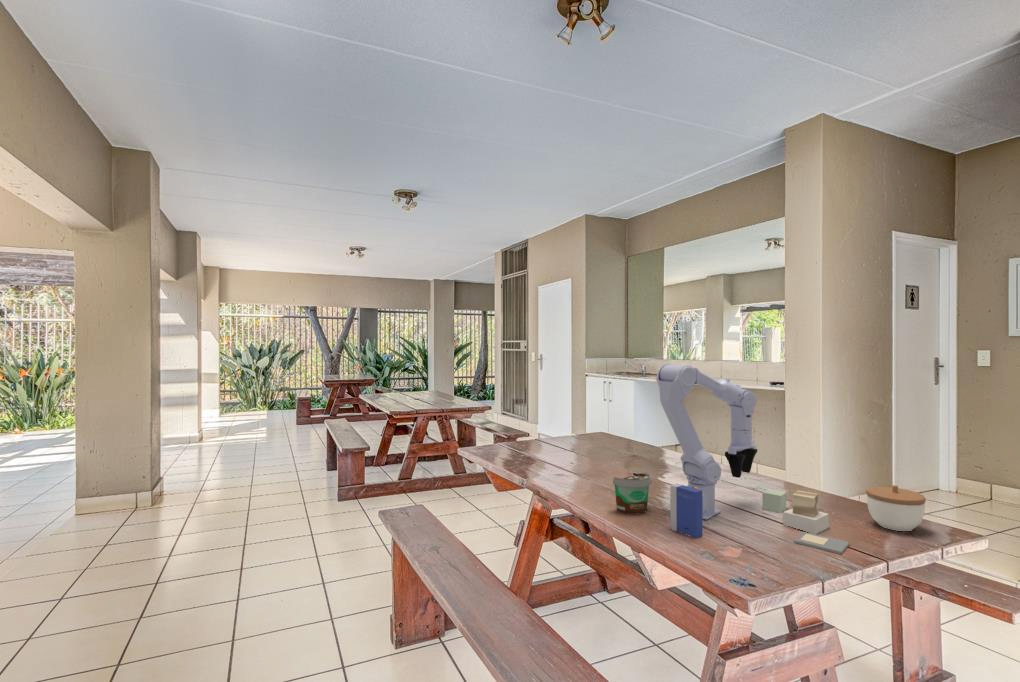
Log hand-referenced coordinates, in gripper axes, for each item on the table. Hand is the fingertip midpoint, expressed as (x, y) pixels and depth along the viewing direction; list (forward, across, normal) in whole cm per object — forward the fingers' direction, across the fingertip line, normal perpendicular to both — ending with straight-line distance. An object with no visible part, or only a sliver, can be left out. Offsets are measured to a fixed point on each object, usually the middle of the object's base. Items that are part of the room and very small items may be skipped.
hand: (741, 474), depth 156 cm
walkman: (+10, -32, +2) cm, 33 cm away
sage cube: (+10, +4, -8) cm, 13 cm away
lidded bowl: (+10, +10, -36) cm, 39 cm away
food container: (+10, -26, +20) cm, 34 cm away
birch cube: (+6, -6, -19) cm, 21 cm away
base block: (+10, -6, -19) cm, 22 cm away
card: (+9, -16, -25) cm, 31 cm away
